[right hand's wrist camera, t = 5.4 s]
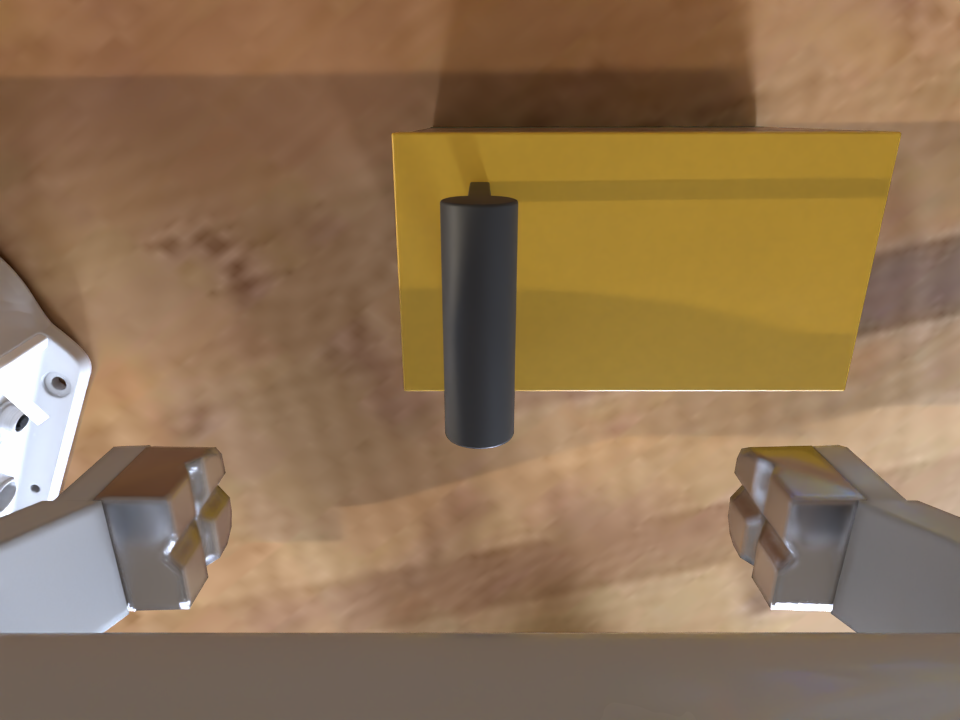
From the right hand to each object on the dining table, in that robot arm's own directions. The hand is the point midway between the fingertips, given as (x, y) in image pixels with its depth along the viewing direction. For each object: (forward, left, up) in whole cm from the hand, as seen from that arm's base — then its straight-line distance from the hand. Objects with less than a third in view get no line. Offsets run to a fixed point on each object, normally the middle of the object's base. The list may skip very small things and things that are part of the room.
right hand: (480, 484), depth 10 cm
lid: (+1, -6, -16) cm, 17 cm away
